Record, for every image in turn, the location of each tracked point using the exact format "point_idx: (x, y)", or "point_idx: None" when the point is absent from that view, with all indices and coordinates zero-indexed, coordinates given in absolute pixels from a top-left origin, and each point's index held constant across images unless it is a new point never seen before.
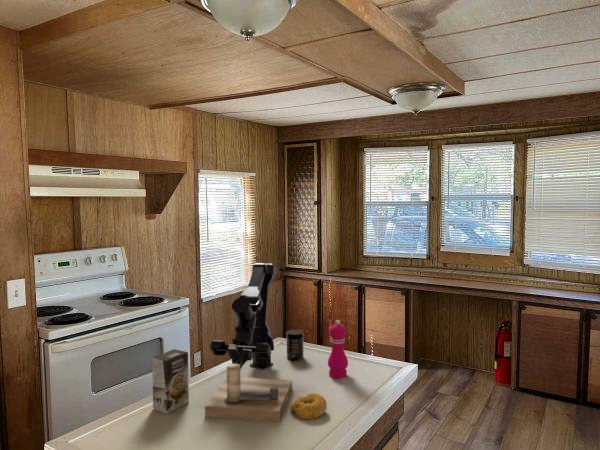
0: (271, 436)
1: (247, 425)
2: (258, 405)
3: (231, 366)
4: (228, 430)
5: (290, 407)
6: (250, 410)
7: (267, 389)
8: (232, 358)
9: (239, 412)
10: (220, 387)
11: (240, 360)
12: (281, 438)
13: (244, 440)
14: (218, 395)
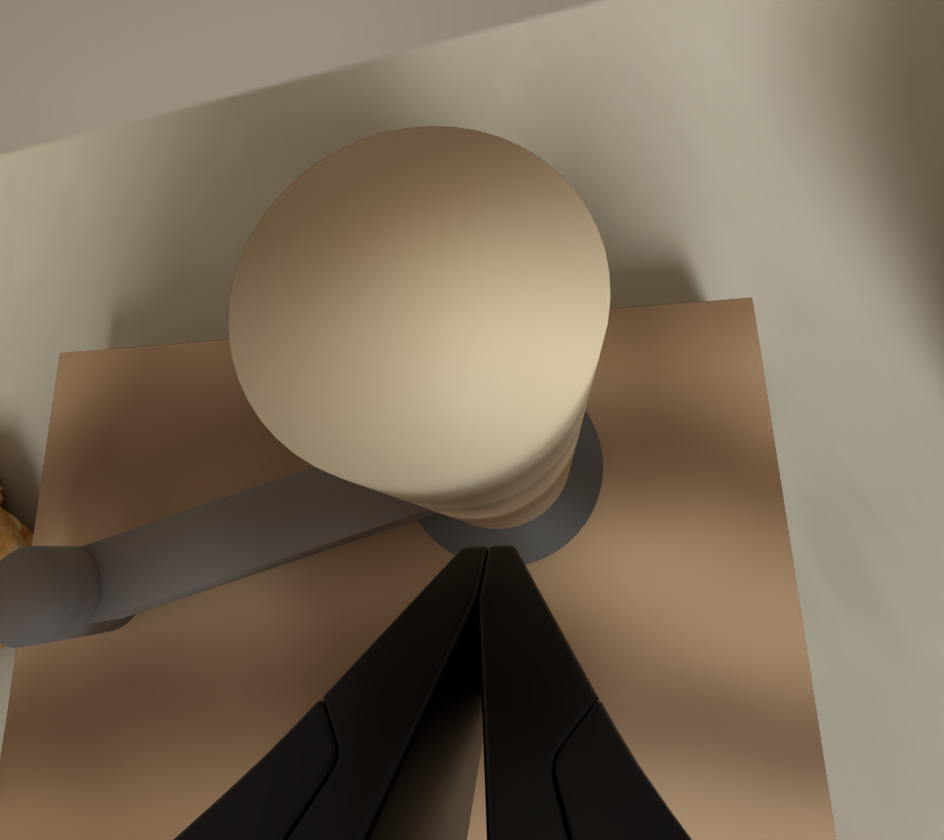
0: (157, 192)
1: None
2: (241, 416)
3: (456, 253)
4: None
5: (14, 535)
6: None
7: None
8: (621, 811)
9: None
10: (818, 816)
11: (297, 750)
12: (97, 187)
13: (311, 113)
14: (729, 567)
